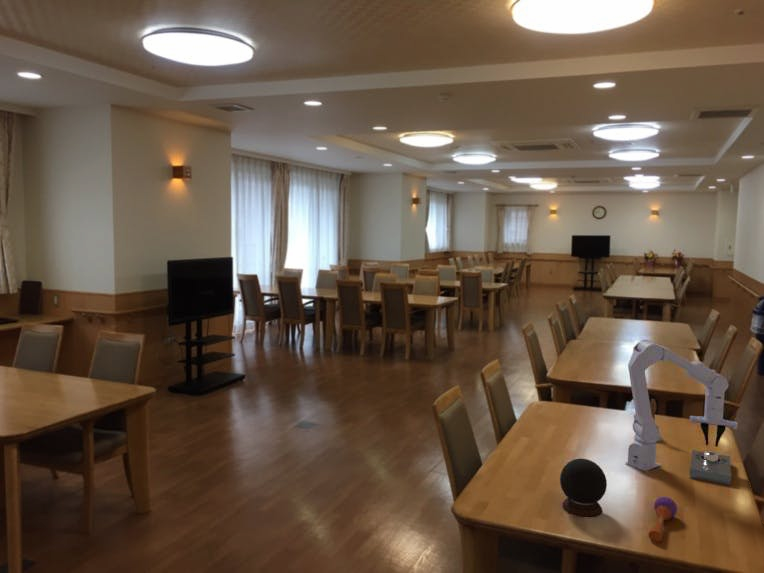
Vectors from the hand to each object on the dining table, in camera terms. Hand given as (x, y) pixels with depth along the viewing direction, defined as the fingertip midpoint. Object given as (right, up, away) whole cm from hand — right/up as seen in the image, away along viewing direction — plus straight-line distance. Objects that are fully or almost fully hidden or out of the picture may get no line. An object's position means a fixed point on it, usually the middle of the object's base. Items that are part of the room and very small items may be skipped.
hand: (711, 445), depth 209 cm
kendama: (-37, -12, -42) cm, 58 cm away
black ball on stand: (-56, -11, -32) cm, 65 cm away
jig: (-2, -8, -3) cm, 9 cm away
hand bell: (-8, -5, +30) cm, 31 cm away
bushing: (0, -8, +1) cm, 8 cm away
